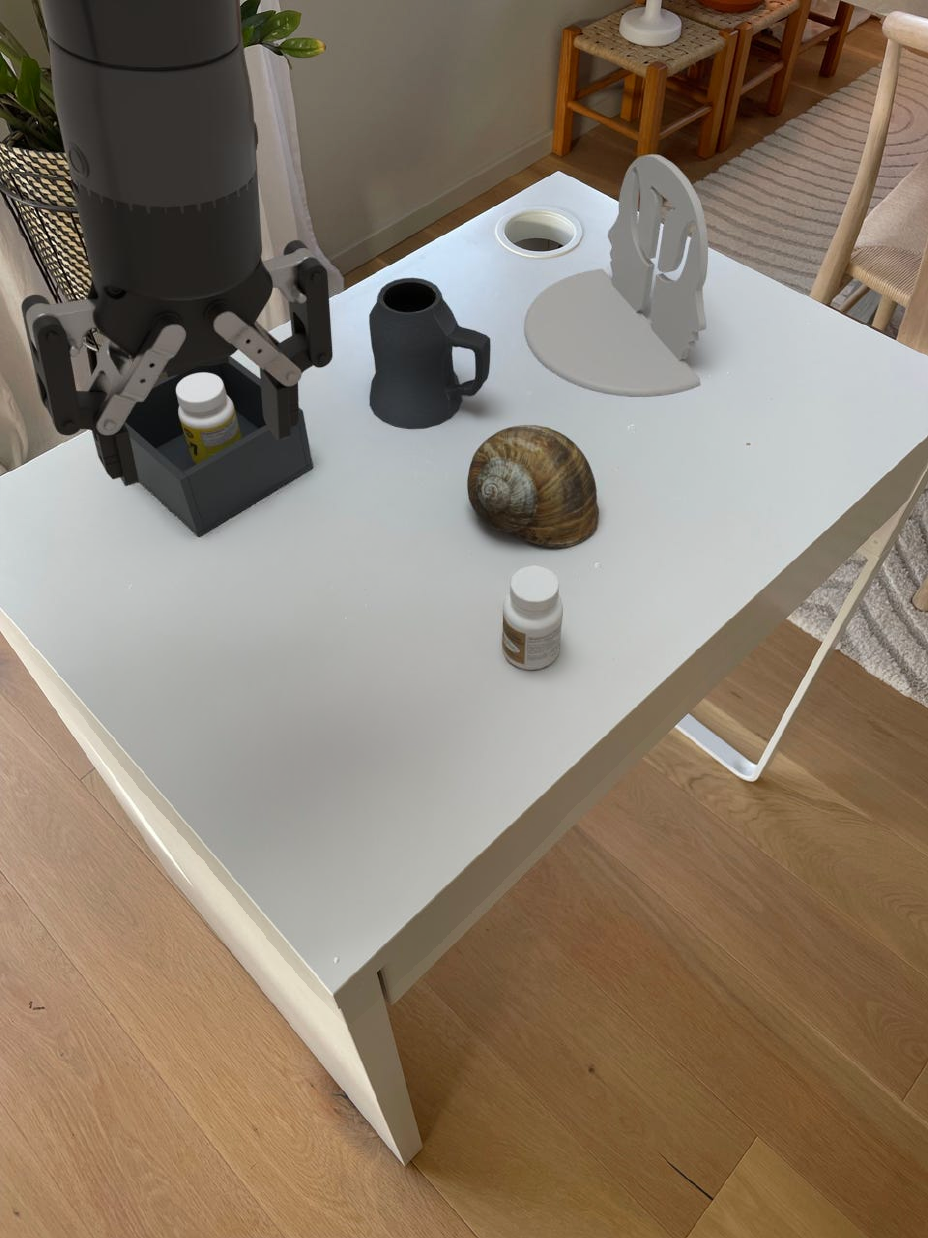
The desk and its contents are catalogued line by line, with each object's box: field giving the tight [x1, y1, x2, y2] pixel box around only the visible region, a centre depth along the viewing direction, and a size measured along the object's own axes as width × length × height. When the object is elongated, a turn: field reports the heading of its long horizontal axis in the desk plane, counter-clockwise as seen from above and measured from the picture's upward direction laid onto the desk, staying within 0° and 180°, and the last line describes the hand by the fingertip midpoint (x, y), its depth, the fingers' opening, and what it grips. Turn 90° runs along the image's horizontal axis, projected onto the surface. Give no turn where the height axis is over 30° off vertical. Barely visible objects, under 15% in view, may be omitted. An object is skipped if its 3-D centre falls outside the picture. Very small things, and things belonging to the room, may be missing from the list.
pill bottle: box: [501, 565, 564, 671], centre depth 71 cm, size 4×4×8 cm
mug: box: [368, 277, 492, 430], centre depth 88 cm, size 12×9×11 cm
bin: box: [124, 355, 314, 538], centre depth 84 cm, size 12×12×7 cm
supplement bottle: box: [176, 373, 242, 466], centre depth 83 cm, size 5×5×8 cm
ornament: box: [523, 153, 709, 398], centre depth 92 cm, size 22×13×17 cm, turn 22°
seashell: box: [466, 424, 600, 548], centre depth 79 cm, size 11×9×8 cm
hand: (203, 452), depth 52 cm, fingers open, 8 cm apart
